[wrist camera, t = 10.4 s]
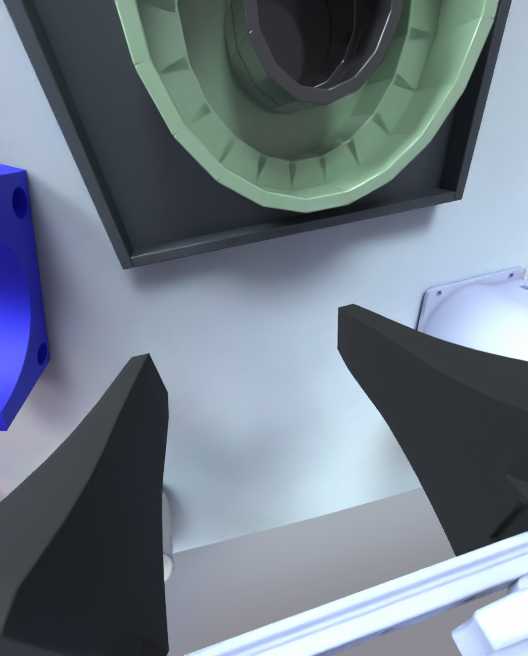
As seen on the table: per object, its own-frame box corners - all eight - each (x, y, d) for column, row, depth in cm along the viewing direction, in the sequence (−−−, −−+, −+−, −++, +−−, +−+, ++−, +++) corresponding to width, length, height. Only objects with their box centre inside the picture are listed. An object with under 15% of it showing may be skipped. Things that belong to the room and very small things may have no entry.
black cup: (340, -63, 12) (421, -167, 8) (338, 105, 15) (394, 94, 11) (211, -52, 11) (225, -158, 7) (237, 121, 15) (257, 115, 10)
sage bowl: (433, -224, 11) (613, -486, 6) (390, 172, 18) (456, 183, 14) (65, -216, 9) (-49, -552, 5) (184, 211, 17) (184, 237, 12)
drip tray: (549, -337, 10) (620, -430, 8) (439, 194, 20) (462, 199, 18) (-132, -357, 8) (-218, -491, 6) (128, 257, 17) (122, 269, 16)
